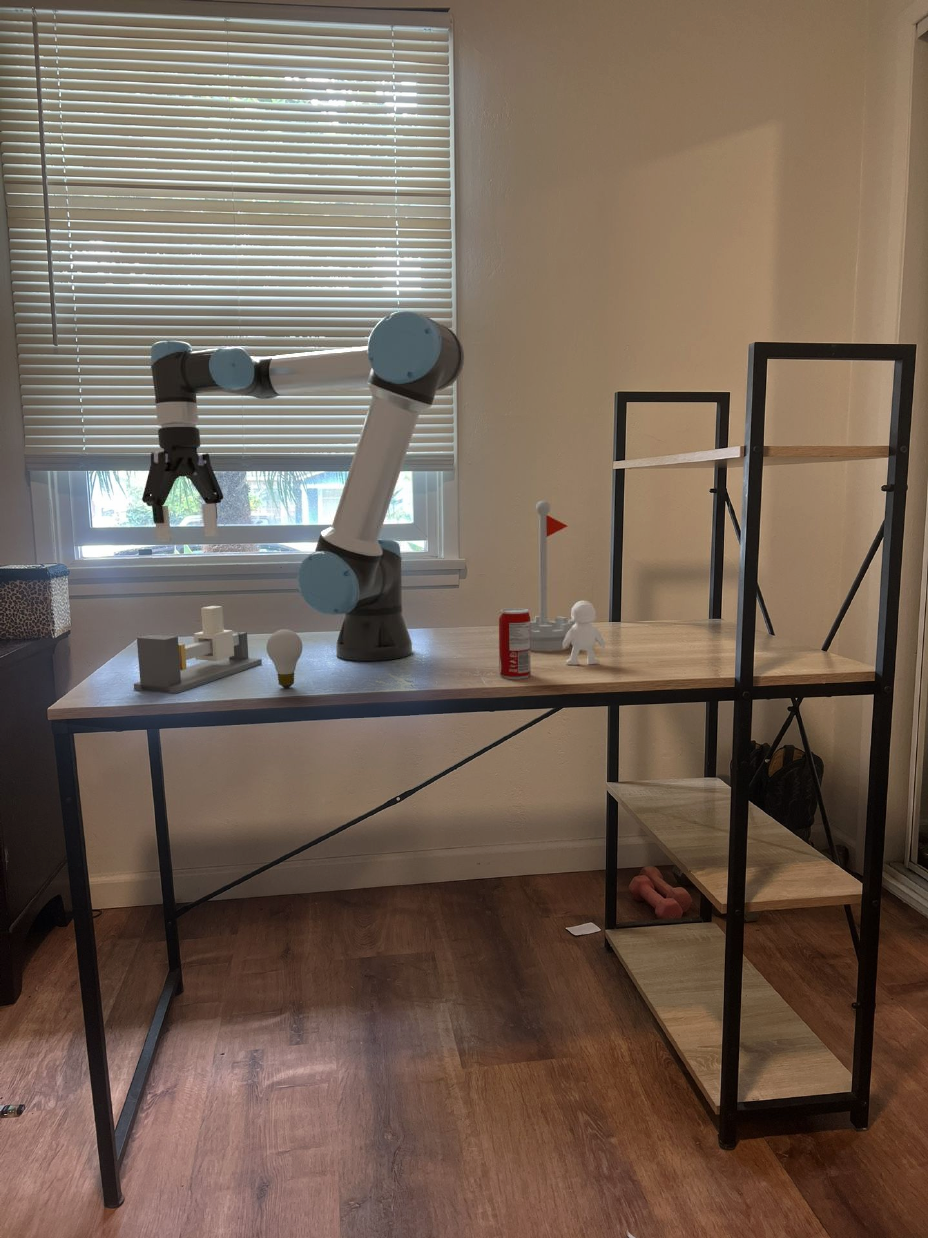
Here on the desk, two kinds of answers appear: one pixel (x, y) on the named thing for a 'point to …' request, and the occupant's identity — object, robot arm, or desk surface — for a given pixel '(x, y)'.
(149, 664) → the rail
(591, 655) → the figurine
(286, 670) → the light bulb
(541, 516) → the flag stand
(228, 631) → the sleeve
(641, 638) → the desk surface
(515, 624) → the soda can
